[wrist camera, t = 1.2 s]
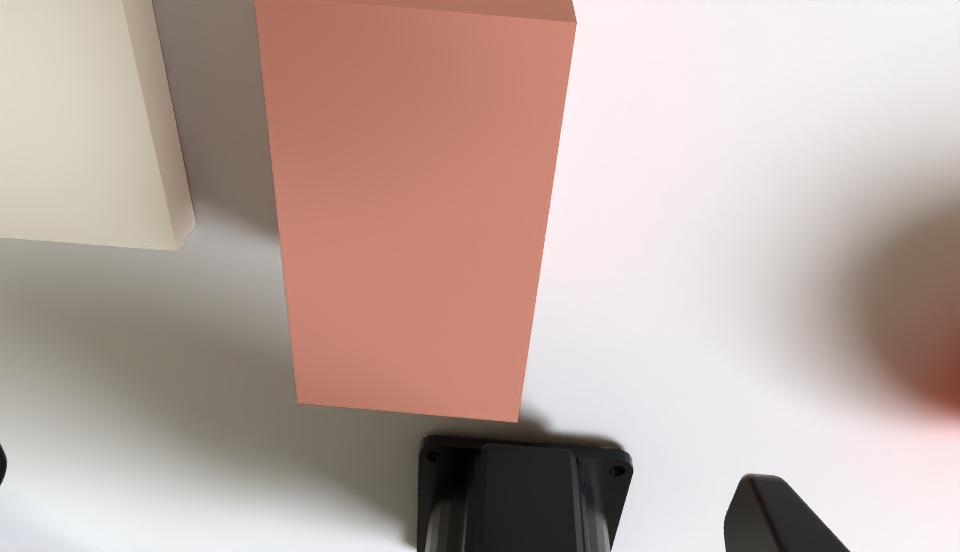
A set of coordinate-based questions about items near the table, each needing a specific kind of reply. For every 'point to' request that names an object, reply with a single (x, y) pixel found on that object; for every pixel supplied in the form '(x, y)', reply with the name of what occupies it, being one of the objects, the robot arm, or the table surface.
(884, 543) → the table surface
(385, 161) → the block
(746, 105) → the table surface
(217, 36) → the table surface
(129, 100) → the board
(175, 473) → the table surface
